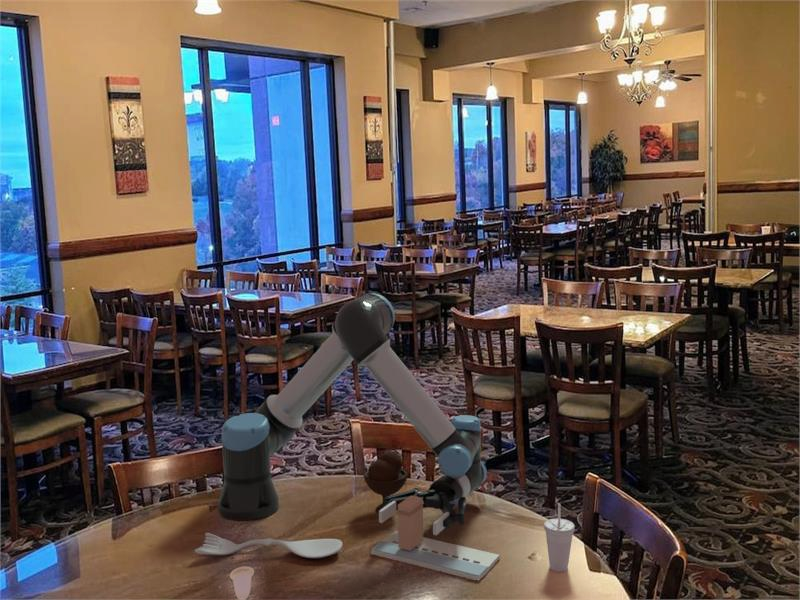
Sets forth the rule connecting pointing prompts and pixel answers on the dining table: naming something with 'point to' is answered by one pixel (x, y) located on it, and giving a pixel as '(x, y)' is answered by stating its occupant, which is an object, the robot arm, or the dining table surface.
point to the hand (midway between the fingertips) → (406, 523)
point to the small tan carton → (410, 522)
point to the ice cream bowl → (386, 476)
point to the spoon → (301, 548)
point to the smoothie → (559, 541)
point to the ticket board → (439, 557)
